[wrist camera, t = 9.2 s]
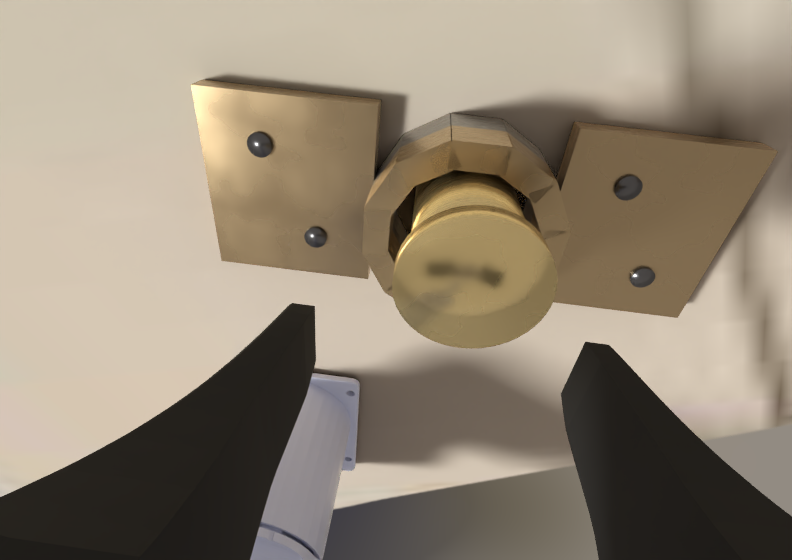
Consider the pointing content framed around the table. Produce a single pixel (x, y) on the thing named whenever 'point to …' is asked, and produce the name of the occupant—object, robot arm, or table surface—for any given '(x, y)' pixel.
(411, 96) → the table surface
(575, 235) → the hinge
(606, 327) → the table surface
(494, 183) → the hinge pin
